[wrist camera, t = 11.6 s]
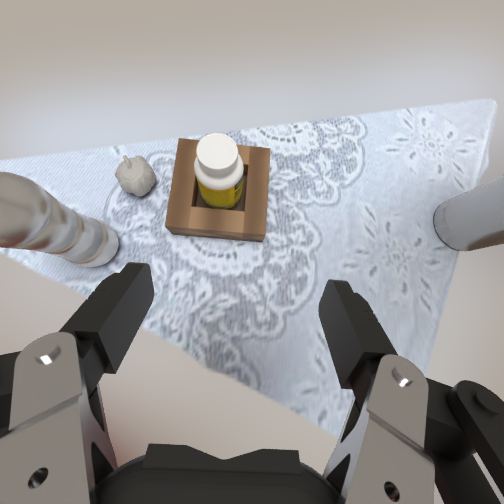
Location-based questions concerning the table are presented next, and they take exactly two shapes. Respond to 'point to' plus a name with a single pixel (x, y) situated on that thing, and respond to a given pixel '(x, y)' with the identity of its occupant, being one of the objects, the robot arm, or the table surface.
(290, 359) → the table surface
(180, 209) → the wooden square tray
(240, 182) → the pill bottle
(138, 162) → the garlic
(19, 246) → the plastic bottle
